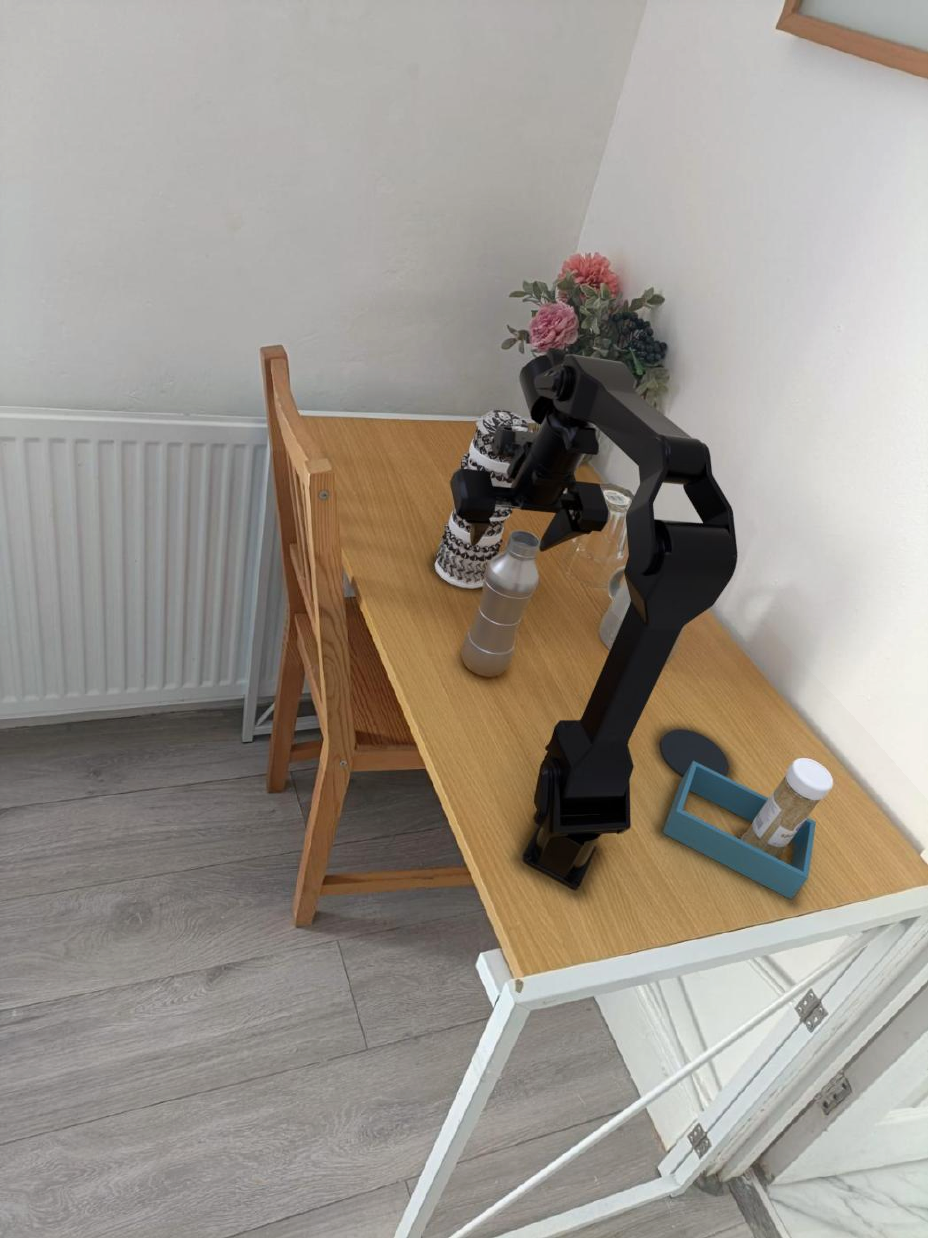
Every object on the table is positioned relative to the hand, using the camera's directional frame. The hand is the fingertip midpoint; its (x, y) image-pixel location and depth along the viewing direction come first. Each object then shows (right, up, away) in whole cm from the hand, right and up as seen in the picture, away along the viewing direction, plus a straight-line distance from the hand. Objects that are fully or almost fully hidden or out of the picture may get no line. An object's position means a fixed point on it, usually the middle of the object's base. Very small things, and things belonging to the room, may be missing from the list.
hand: (506, 546), depth 109 cm
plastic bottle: (-3, -15, +5) cm, 16 cm away
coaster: (+24, -26, +2) cm, 35 cm away
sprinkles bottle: (+28, -36, -8) cm, 46 cm away
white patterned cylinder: (-6, -2, +21) cm, 22 cm away
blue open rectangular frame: (+26, -34, -8) cm, 43 cm away
